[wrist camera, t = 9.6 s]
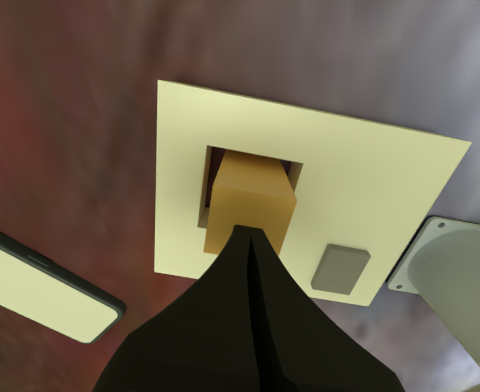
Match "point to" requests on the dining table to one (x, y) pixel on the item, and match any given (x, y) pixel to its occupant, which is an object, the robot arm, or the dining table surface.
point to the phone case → (54, 294)
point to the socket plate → (300, 185)
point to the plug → (249, 199)
